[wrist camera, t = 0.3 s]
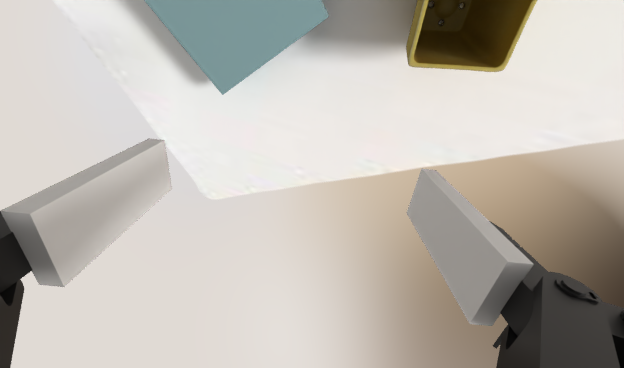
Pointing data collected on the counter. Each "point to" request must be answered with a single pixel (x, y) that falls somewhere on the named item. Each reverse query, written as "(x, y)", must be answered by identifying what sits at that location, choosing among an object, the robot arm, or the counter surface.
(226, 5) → the teal stand
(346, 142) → the counter surface
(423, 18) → the flower pot
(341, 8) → the counter surface
